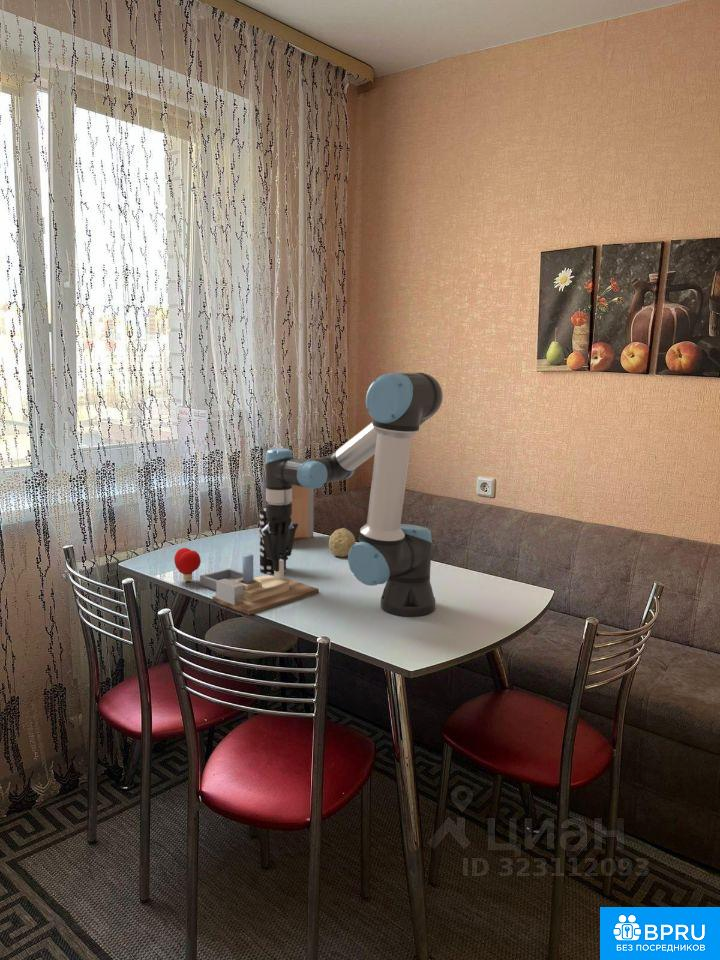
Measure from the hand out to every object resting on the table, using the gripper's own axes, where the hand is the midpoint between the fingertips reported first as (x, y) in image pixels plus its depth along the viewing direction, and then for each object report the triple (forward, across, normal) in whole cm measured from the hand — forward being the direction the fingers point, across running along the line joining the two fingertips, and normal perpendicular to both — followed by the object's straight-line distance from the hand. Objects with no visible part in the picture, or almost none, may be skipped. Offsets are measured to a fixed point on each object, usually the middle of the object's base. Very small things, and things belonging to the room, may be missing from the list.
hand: (279, 580), depth 214 cm
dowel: (-1, +12, 0) cm, 12 cm away
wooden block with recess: (+2, +8, 0) cm, 8 cm away
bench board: (+3, +7, +2) cm, 7 cm away
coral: (+3, -39, -13) cm, 42 cm away
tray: (+3, +9, -14) cm, 16 cm away
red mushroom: (+3, +15, -25) cm, 29 cm away
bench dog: (+1, +18, 0) cm, 18 cm away
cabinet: (+3, -39, -41) cm, 57 cm away
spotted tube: (+3, -11, -16) cm, 20 cm away
